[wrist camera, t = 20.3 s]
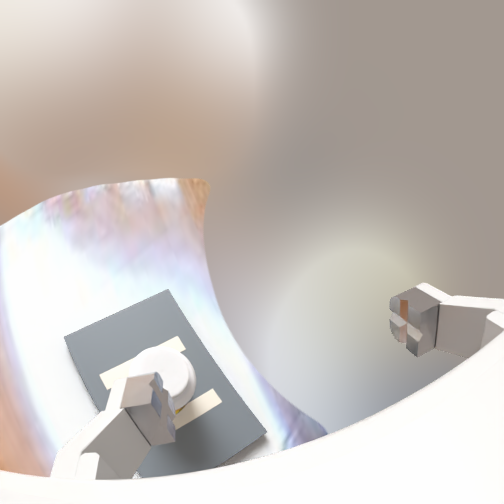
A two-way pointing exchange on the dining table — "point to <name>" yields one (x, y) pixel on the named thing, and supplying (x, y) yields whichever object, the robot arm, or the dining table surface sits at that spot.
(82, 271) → the dining table surface
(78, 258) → the dining table surface
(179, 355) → the supplement bottle
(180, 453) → the gray board
